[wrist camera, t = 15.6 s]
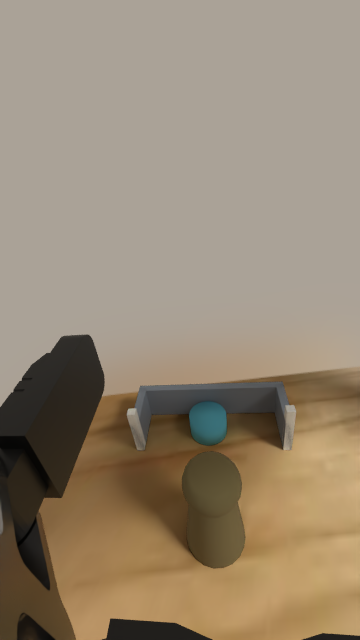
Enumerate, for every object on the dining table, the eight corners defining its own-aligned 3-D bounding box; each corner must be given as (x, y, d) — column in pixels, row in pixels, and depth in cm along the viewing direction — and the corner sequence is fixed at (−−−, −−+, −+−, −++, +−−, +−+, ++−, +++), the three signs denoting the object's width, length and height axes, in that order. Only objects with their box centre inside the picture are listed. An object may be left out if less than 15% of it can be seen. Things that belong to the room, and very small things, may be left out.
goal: (280, 407, 44) (283, 370, 41) (291, 449, 39) (296, 411, 35) (146, 409, 47) (137, 375, 43) (137, 450, 41) (126, 414, 37)
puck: (220, 412, 45) (219, 397, 44) (232, 440, 41) (231, 424, 39) (187, 420, 44) (185, 405, 43) (195, 449, 40) (194, 433, 39)
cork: (190, 499, 35) (181, 437, 29) (244, 506, 34) (246, 442, 28) (182, 563, 30) (169, 503, 24) (245, 573, 29) (247, 513, 23)
